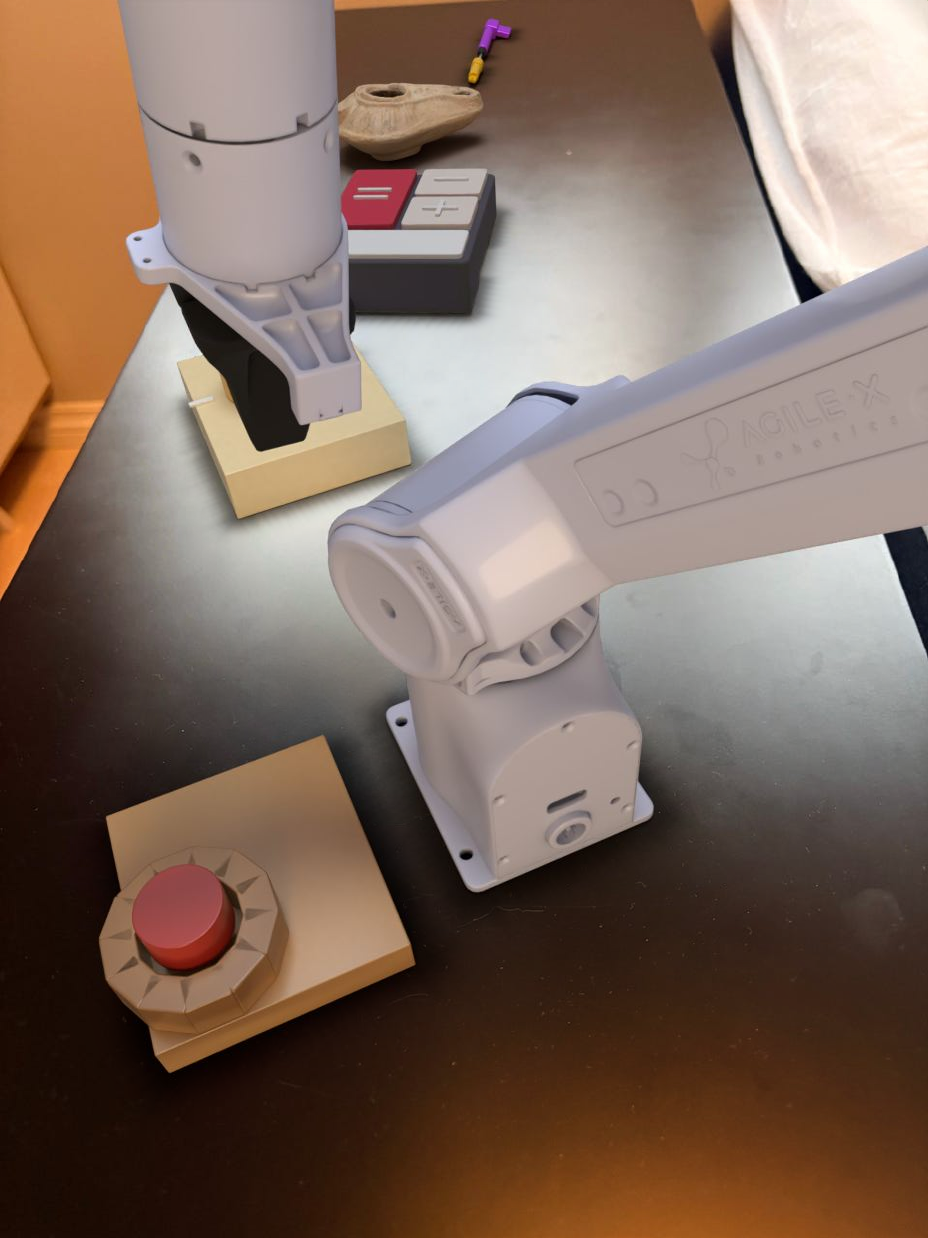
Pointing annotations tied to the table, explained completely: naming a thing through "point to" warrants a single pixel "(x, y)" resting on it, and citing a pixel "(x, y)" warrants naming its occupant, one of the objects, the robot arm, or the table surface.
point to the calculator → (417, 238)
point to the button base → (254, 902)
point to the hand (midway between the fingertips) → (276, 434)
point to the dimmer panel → (302, 467)
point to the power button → (184, 917)
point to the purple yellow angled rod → (486, 46)
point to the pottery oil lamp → (404, 116)
